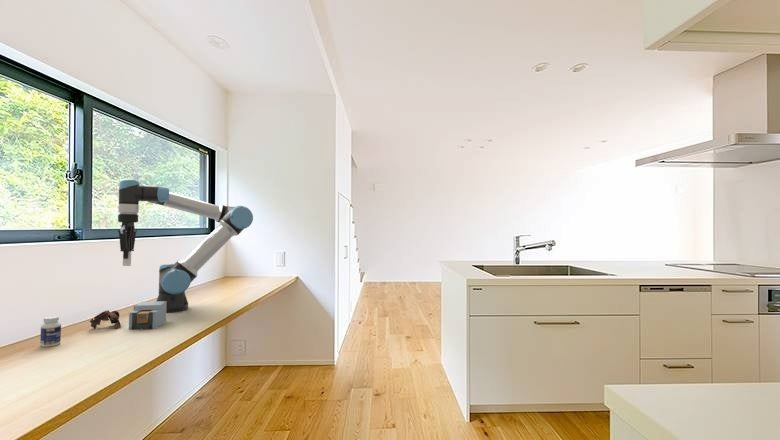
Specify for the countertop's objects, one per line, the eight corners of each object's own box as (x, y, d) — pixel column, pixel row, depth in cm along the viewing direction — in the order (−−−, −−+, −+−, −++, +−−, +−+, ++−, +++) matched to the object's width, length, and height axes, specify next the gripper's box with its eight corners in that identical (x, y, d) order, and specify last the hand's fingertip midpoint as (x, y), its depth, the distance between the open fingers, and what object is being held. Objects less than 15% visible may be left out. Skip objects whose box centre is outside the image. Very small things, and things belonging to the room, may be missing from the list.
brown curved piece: (115, 331, 152) (103, 315, 150) (94, 342, 152) (81, 325, 150) (130, 317, 164) (119, 302, 161) (110, 326, 163) (99, 311, 161)
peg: (148, 316, 166) (148, 307, 166) (158, 316, 167) (158, 307, 167) (136, 323, 154) (136, 313, 154) (147, 323, 155) (147, 313, 155)
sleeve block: (141, 322, 166) (141, 301, 166) (166, 321, 168) (166, 301, 168) (128, 329, 153) (128, 307, 154) (155, 328, 156) (155, 307, 156)
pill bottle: (44, 348, 130) (45, 320, 130) (37, 345, 132) (37, 318, 132) (63, 343, 135) (64, 316, 135) (55, 341, 137) (56, 314, 137)
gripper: (125, 213, 175) (124, 264, 175) (111, 213, 162) (110, 267, 162) (143, 214, 177) (142, 264, 176) (131, 213, 164) (129, 267, 164)
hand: (126, 265), depth 169 cm, fingers closed
